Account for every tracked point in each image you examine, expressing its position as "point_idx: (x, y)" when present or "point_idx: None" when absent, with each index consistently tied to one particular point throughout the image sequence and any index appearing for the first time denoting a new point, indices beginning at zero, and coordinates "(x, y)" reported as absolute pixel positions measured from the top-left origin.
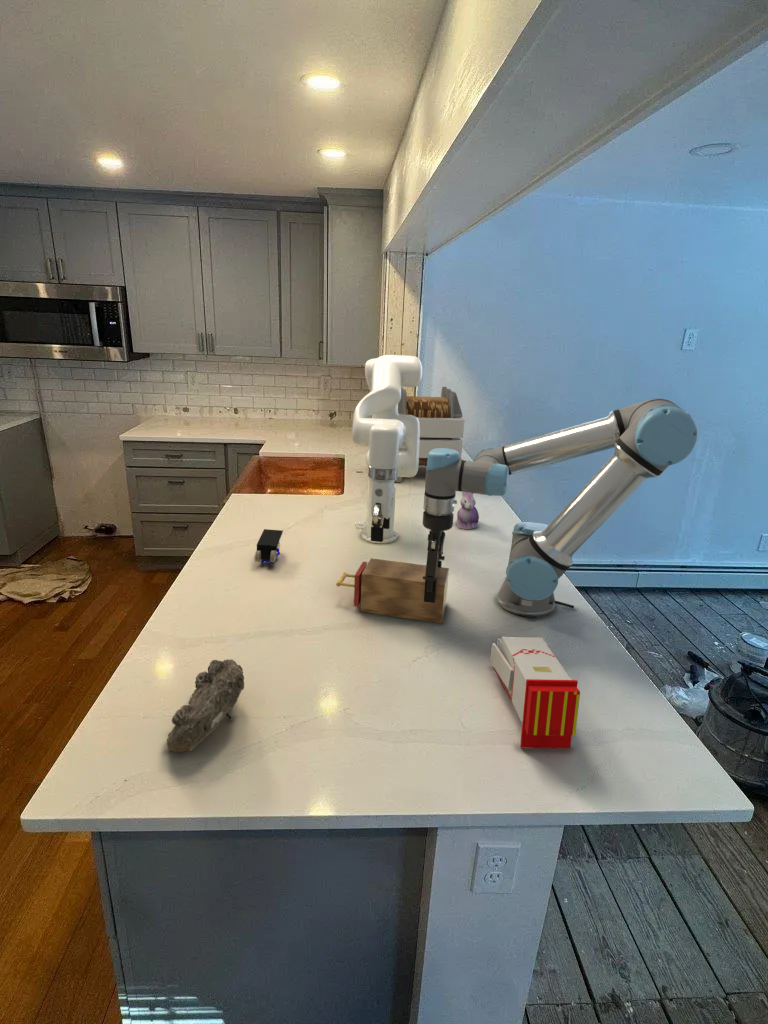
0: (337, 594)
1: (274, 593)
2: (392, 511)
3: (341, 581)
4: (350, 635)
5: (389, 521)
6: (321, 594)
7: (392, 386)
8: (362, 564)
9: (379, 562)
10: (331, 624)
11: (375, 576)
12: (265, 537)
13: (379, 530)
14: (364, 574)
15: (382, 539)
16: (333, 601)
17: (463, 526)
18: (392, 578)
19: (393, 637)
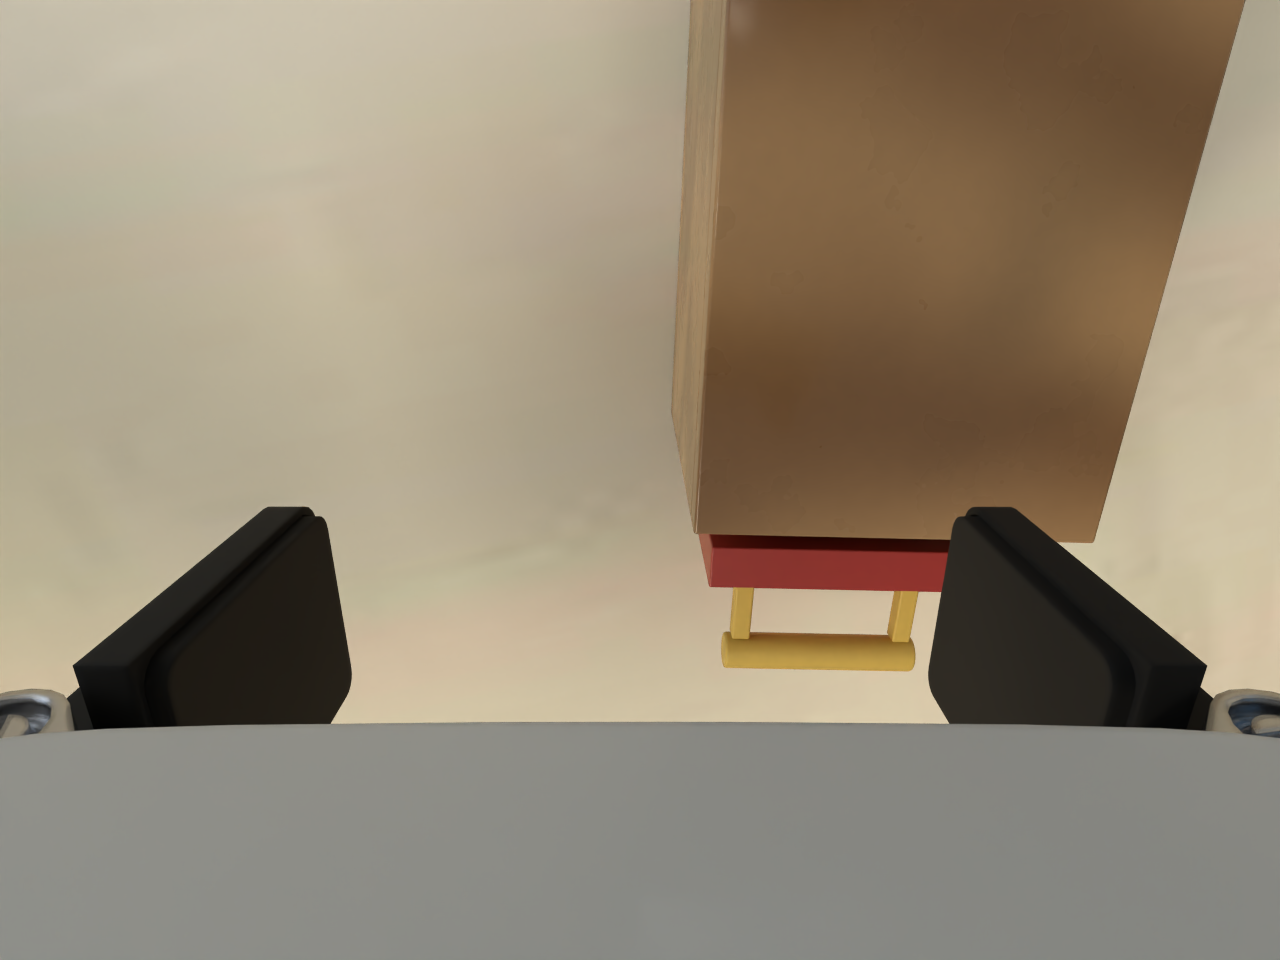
0: (723, 605)
1: None
2: (405, 743)
3: (879, 647)
4: (1225, 415)
5: (229, 573)
6: (744, 687)
7: None
8: (783, 577)
9: (785, 424)
10: (1097, 549)
11: (1126, 399)
12: None
13: (1208, 700)
14: (1097, 515)
15: (1026, 523)
16: (818, 605)
17: None
18: (1188, 197)
19: (1262, 123)
